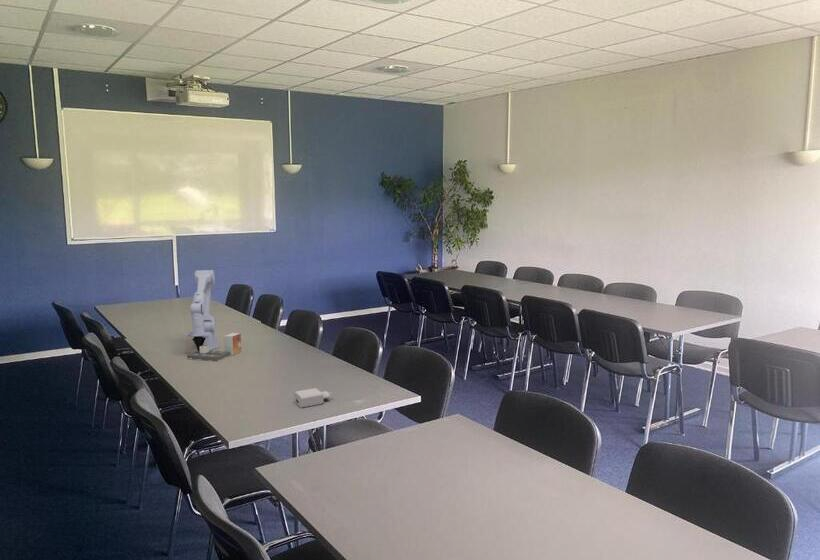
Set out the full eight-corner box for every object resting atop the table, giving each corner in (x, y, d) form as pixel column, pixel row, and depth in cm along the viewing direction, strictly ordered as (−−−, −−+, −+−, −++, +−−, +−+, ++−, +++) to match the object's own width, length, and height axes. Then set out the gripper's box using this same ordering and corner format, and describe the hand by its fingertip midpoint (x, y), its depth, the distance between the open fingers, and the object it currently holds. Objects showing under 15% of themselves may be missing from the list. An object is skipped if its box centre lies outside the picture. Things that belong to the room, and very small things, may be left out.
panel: (201, 353, 325) (201, 349, 324) (230, 355, 319) (230, 351, 319) (187, 358, 313) (187, 354, 313) (216, 361, 308) (216, 357, 308)
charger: (336, 402, 244) (301, 408, 237) (328, 395, 252) (294, 402, 245) (336, 391, 243) (300, 397, 236) (328, 385, 251) (293, 390, 244)
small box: (233, 355, 319) (232, 336, 317) (224, 354, 321) (223, 335, 319) (241, 352, 326) (241, 333, 325) (233, 351, 328) (232, 332, 327)
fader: (204, 351, 319) (204, 344, 319) (209, 351, 318) (209, 344, 318) (199, 353, 315) (199, 346, 315) (204, 353, 314) (204, 346, 314)
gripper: (181, 326, 314) (183, 351, 316) (205, 327, 310) (206, 353, 312) (190, 323, 321) (192, 348, 323) (213, 324, 316) (215, 350, 318)
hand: (199, 350), depth 317 cm, fingers closed
